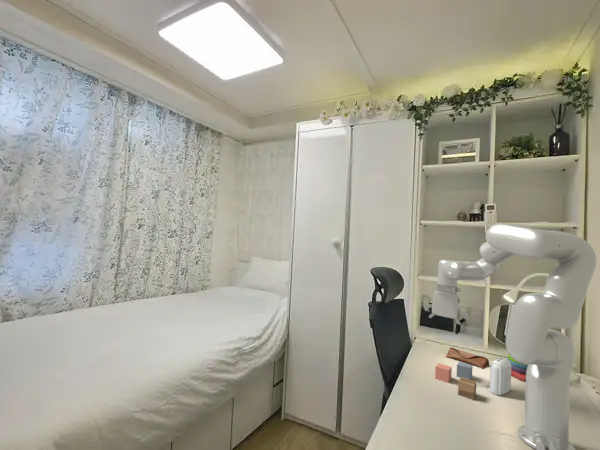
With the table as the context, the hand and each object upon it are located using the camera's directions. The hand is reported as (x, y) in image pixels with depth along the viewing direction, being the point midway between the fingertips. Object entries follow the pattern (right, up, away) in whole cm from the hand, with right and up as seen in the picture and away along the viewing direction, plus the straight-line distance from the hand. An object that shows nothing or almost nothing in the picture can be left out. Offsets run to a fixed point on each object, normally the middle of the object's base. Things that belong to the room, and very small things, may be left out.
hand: (444, 330), depth 122 cm
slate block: (+10, -21, +2) cm, 23 cm away
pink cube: (-1, -19, -2) cm, 20 cm away
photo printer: (+17, -21, -9) cm, 28 cm away
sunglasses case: (+21, -23, +21) cm, 38 cm away
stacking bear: (+37, -23, +8) cm, 45 cm away
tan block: (+1, -19, -14) cm, 24 cm away
